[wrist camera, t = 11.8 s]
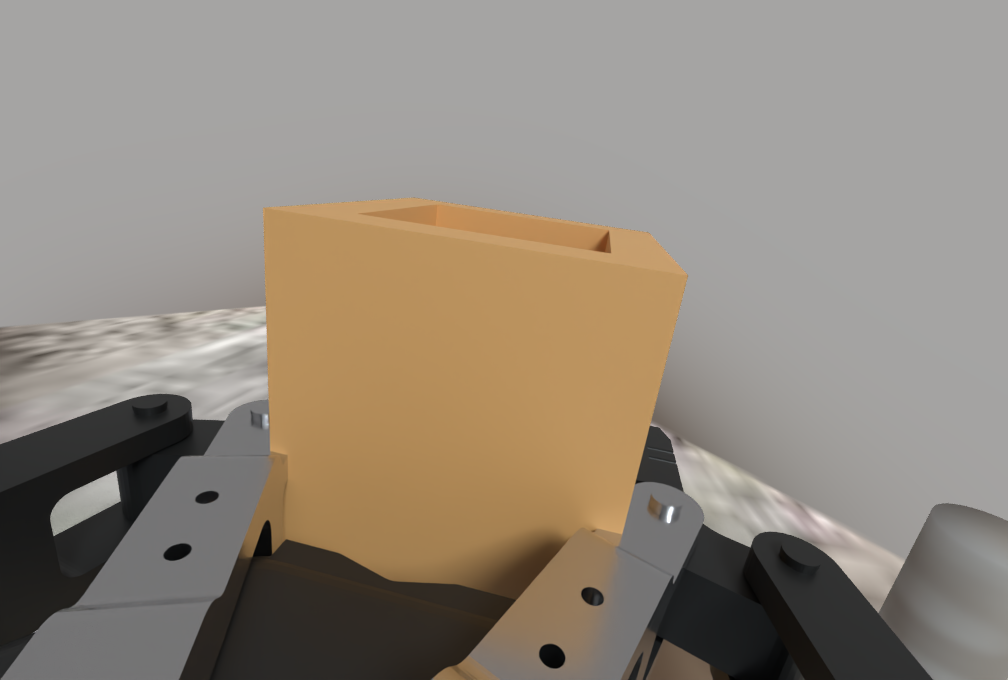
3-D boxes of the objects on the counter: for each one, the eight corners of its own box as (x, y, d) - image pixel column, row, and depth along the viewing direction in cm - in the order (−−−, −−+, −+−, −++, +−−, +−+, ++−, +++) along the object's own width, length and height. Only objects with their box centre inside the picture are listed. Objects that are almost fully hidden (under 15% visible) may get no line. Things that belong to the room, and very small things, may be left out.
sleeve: (544, 839, 9) (687, 275, 6) (278, 751, 10) (263, 208, 7) (566, 605, 15) (648, 232, 11) (389, 558, 15) (413, 197, 12)
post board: (29, 1278, 8) (-214, 895, 4) (338, 570, 21) (344, 337, 17) (1392, 1393, 8) (2221, 1144, 5) (847, 631, 21) (952, 417, 18)
